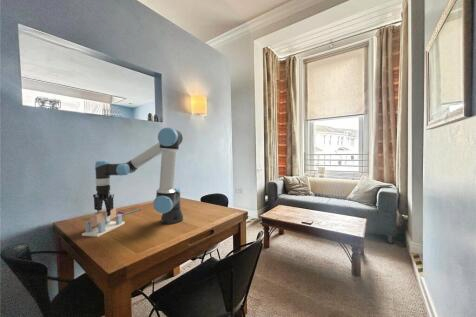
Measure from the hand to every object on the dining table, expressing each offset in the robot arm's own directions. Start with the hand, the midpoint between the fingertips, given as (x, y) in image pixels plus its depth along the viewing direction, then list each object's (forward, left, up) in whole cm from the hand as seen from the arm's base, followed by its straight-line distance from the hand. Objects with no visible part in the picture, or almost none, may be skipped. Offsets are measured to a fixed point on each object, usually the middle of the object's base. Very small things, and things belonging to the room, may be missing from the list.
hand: (104, 220), depth 130 cm
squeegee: (+14, -31, -7) cm, 34 cm away
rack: (0, 0, -6) cm, 6 cm away
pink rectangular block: (0, 0, 0) cm, 0 cm away
